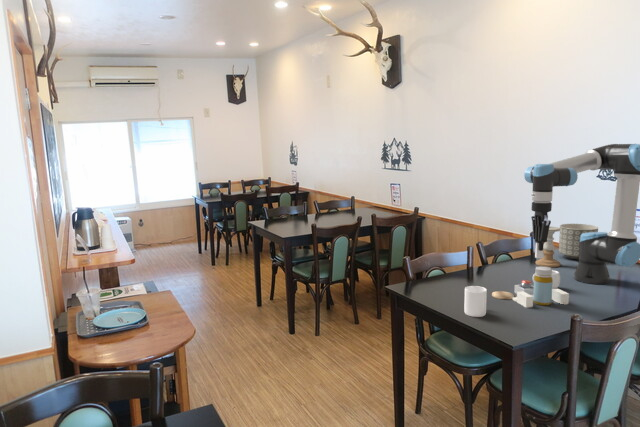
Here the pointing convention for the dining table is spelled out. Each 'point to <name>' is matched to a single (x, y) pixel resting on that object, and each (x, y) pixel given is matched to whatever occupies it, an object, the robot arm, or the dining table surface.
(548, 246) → the candle holder
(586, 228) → the planter
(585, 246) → the robot arm
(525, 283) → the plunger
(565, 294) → the housing
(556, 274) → the mug
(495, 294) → the pad
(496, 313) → the dining table surface
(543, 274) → the bottle
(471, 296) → the cup
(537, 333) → the dining table surface
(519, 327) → the dining table surface
